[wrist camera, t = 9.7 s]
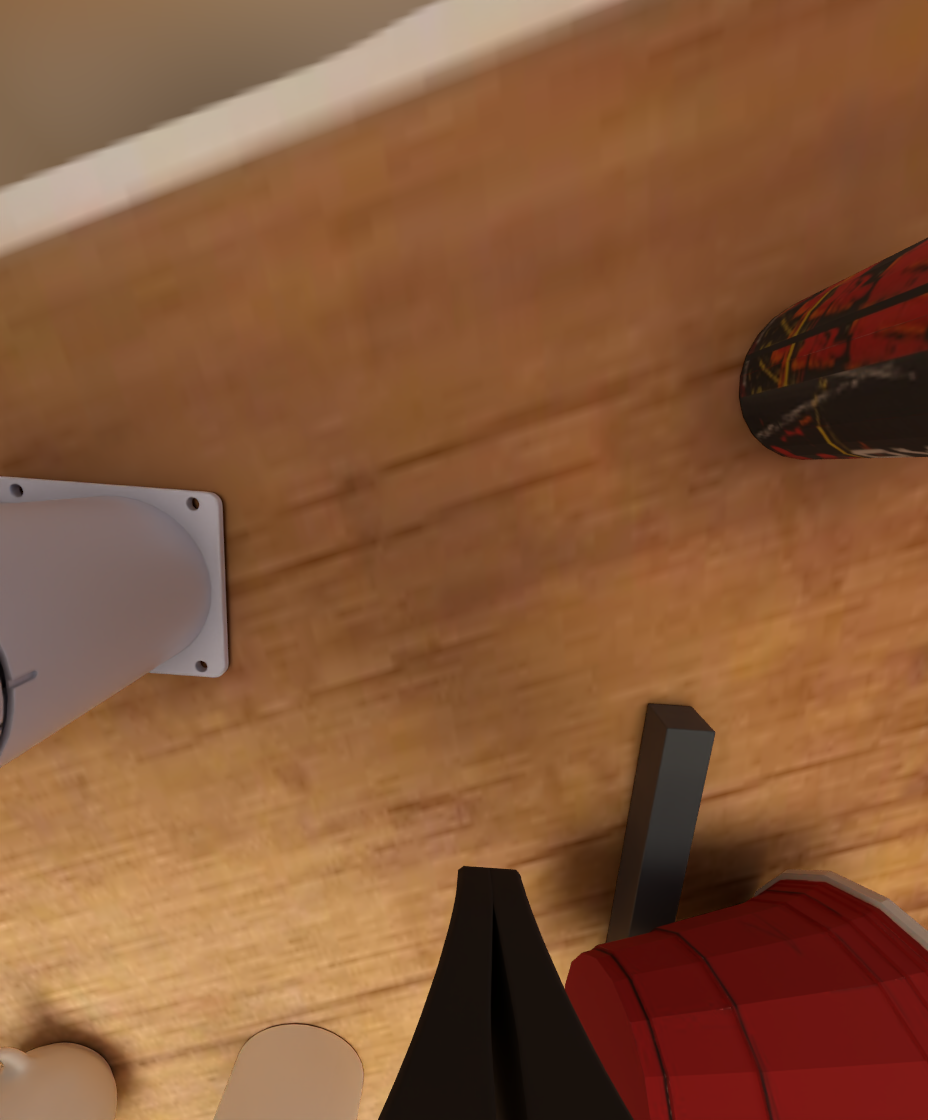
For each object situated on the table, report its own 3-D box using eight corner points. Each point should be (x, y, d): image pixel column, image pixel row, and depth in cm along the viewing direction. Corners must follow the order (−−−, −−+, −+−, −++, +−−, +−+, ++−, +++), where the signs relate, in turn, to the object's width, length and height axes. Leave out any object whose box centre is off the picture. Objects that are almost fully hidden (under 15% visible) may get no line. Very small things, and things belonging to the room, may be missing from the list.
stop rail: (593, 1009, 24) (605, 1058, 22) (647, 702, 20) (667, 728, 18) (631, 1011, 24) (645, 1060, 22) (692, 705, 20) (716, 732, 18)
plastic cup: (518, 954, 22) (728, 951, 24) (608, 1439, 12) (950, 1357, 14) (587, 799, 18) (831, 812, 20) (808, 1337, 8) (1240, 1243, 10)
